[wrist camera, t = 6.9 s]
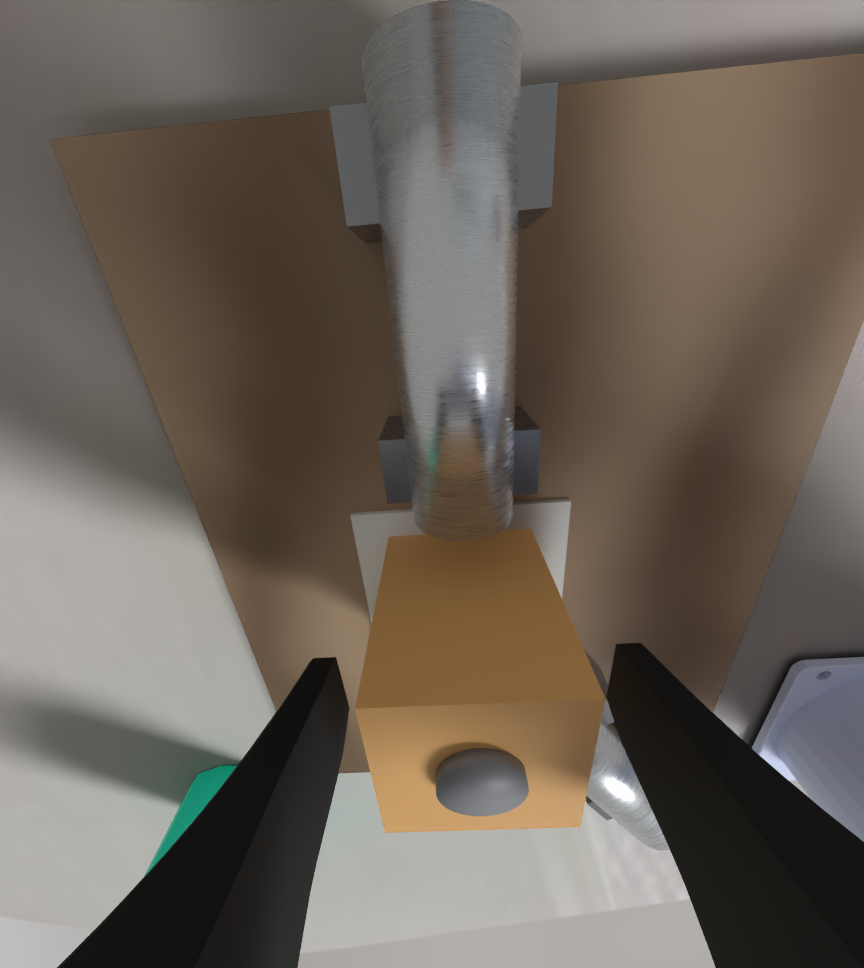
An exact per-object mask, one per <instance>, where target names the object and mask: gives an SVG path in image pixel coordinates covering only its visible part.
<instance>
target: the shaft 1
mask: <svg viewBox="0 0 864 968" xmlns="http://www.w3.org/2000/svg"><path fill="white" fill-rule="evenodd" d="M362 69H363V78H364V87H365V96H366V102H364V103H354V104H345V105H335V106H329V108H330V115H331V122H332V128H333V135H334V142H335V149H336V156H337V163H338V170H339V176H340V183H341V190H342V197H343V204H344V211H345V218H346V224H347V227H348V228H349V229H350V230H351V231H352V232H353V233H355V234H356V235H357V236H358V237H359V238H360V239H361V240H362V241H363V242H364V243H376V242H382V245H383V254H384V263H385V271H386V280H387V289H388V298H389V307H390V315H391V324H392V333H393V342H394V351H395V359H396V368H397V377H398V386H399V395H400V403H401V412H402V416H392V417H388V418H387V420H386V423H385V425H384V428H383V430H382V433H381V435H380V437H379V440H378V444H379V451H380V457H381V464H382V471H383V478H384V485H385V492H386V499H387V504H392V503H407V502H412V509H413V518H414V522H415V524H416V526H417V527H418V528H419V529H420V530H421V531H422V532H423V533H425V534H427V535H429V536H431V537H434V538H437V539H442V540H447V541H474V540H480V539H484V538H488V537H490V536H493V535H495V534H497V533H499V532H501V531H502V530H504V529H505V528H506V527H507V526H508V525H509V524H510V522H511V521H512V517H513V496H514V495H529V494H538V475H539V455H540V435H541V429H540V428H539V426H538V425H537V424H536V423H535V422H534V421H533V420H532V418H531V417H530V416H529V415H528V414H527V413H526V411H525V410H524V409H523V408H522V407H515V362H516V307H517V252H518V229H526V228H528V227H529V226H530V225H531V224H532V223H534V222H535V221H536V220H537V219H538V218H540V217H541V216H542V215H543V214H544V213H546V212H547V211H548V210H549V209H550V208H552V193H553V173H554V153H555V133H556V113H557V93H558V82H552V83H542V84H533V85H524V86H521V33H520V30H519V27H518V25H517V24H516V22H515V21H514V20H513V19H512V18H511V17H510V16H509V15H508V14H507V13H505V12H503V11H502V10H500V9H498V8H496V7H493V6H491V5H488V4H484V3H480V2H474V1H466V0H450V1H439V2H433V3H428V4H424V5H420V6H417V7H414V8H411V9H409V10H406V11H404V12H402V13H400V14H398V15H395V16H394V17H392V18H391V19H389V20H387V21H386V22H385V23H383V24H382V25H381V26H380V27H378V28H377V29H376V30H375V31H374V32H373V33H372V35H371V36H370V37H369V39H368V40H367V42H366V44H365V46H364V48H363V52H362Z"/></svg>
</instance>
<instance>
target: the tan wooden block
mask: <svg viewBox="0 0 864 968" xmlns="http://www.w3.org/2000/svg"><path fill="white" fill-rule="evenodd" d="M604 704H605V696H604V694H603V692H602V690H601V687H600V685H599V683H598V680H597V678H596V676H595V674H594V671H593V669H592V667H591V664H590V662H589V660H588V658H587V655H586V653H585V651H584V648H583V646H582V644H581V641H580V639H579V637H578V635H577V632H576V630H575V628H574V625H573V623H572V621H571V619H570V616H569V614H568V612H567V609H566V607H565V605H564V603H563V600H562V598H561V596H560V593H559V591H558V589H557V586H556V584H555V582H554V580H553V577H552V575H551V573H550V570H549V568H548V566H547V564H546V561H545V559H544V557H543V554H542V552H541V550H540V547H539V545H538V543H537V541H536V538H535V536H534V534H533V531H532V529H515V530H502V531H501V532H499V533H497V534H495V535H493V536H490V537H488V538H484V539H480V540H474V541H447V540H442V539H437V538H434V537H431V536H429V535H427V534H426V535H408V536H390V537H388V542H387V548H386V553H385V558H384V563H383V568H382V573H381V578H380V583H379V588H378V593H377V599H376V604H375V609H374V614H373V619H372V624H371V629H370V634H369V639H368V644H367V650H366V655H365V660H364V665H363V670H362V675H361V680H360V685H359V690H358V695H357V701H356V706H355V711H356V715H357V719H358V724H359V728H360V732H361V736H362V740H363V744H364V748H365V752H366V756H367V760H368V764H369V768H370V773H371V777H372V781H373V785H374V789H375V793H376V797H377V801H378V805H379V809H380V813H381V817H382V822H383V826H384V830H385V833H391V832H426V831H460V830H495V829H529V828H564V827H580V825H581V820H582V815H583V809H584V804H585V799H586V794H587V789H588V784H589V779H590V774H591V769H592V764H593V759H594V754H595V749H596V744H597V739H598V734H599V729H600V724H601V719H602V714H603V709H604Z"/></svg>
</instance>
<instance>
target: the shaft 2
mask: <svg viewBox="0 0 864 968" xmlns="http://www.w3.org/2000/svg"><path fill="white" fill-rule="evenodd" d="M584 651H585V653H586V655H587V658H588V660H589V662H590V664H591V667H592V669H593V671H594V674H595V676H596V678H597V680H598V683H599V685H600V687H601V690H602V692H603V694H604V696H605V704H604V709H603V714H602V719H601V724H600V729H599V734H598V739H597V744H596V749H595V754H594V759H593V764H592V769H591V774H590V779H589V784H588V789H587V794H586V801H587V804H588V805H589V806H590V807H592V808H593V809H594V810H595V811H596V812H598V813H599V814H600V815H601V816H602V817H604V818H605V819H606V820H609V819H612V818H613V819H614V820H616V821H617V822H618V823H619V824H620V825H621V826H623V827H624V828H625V829H626V830H627V831H629V832H630V833H631V834H632V835H633V836H634V837H636V838H637V839H638V840H639V841H640V842H642V843H643V844H645V845H646V846H648V847H650V848H653V849H656V850H668V849H670V848H669V846H668V844H667V842H666V840H665V837H664V835H663V833H662V831H661V829H660V827H659V824H658V822H657V820H656V818H655V816H654V813H653V811H652V809H651V807H650V805H649V802H648V800H647V798H646V796H645V794H644V791H643V789H642V787H641V785H640V783H639V780H638V778H637V776H636V774H635V772H634V769H633V767H632V765H631V763H630V760H629V758H628V756H627V754H626V752H625V749H624V747H623V745H622V742H621V740H620V737H619V734H618V731H617V730H616V729H615V728H614V727H613V726H612V725H611V723H613V722H614V719H613V716H612V713H611V710H610V707H609V704H608V701H607V698H606V696H607V690H608V683H607V681H606V679H605V676H604V674H603V672H602V670H601V668H600V666H599V665H598V663H597V662H596V661H595V660H594V659H593V658H592V657H591V656H590V655H589V654H588V652H587V651H586V650H585V649H584Z"/></svg>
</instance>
